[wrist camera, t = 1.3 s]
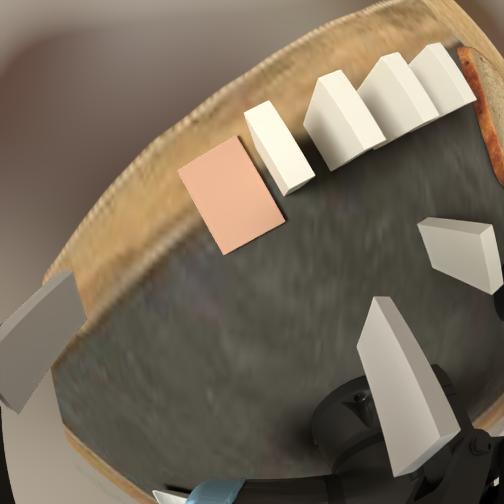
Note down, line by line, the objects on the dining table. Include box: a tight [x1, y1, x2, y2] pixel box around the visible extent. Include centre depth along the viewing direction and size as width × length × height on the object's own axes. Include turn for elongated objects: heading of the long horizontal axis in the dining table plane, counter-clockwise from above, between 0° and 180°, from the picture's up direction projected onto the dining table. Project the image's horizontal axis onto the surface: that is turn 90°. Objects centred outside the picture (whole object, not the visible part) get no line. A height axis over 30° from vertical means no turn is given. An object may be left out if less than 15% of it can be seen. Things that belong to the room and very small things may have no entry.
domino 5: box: [417, 217, 503, 295], centre depth 21 cm, size 2×6×11 cm, turn 29°
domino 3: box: [357, 52, 440, 150], centre depth 19 cm, size 2×6×11 cm, turn 29°
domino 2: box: [303, 70, 386, 171], centre depth 20 cm, size 2×6×11 cm, turn 29°
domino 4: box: [408, 43, 477, 132], centre depth 19 cm, size 2×6×11 cm, turn 29°
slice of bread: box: [457, 47, 504, 188], centre depth 21 cm, size 18×18×4 cm
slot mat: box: [178, 135, 285, 255], centre depth 27 cm, size 7×10×1 cm
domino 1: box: [244, 100, 315, 196], centre depth 21 cm, size 2×6×11 cm, turn 29°
